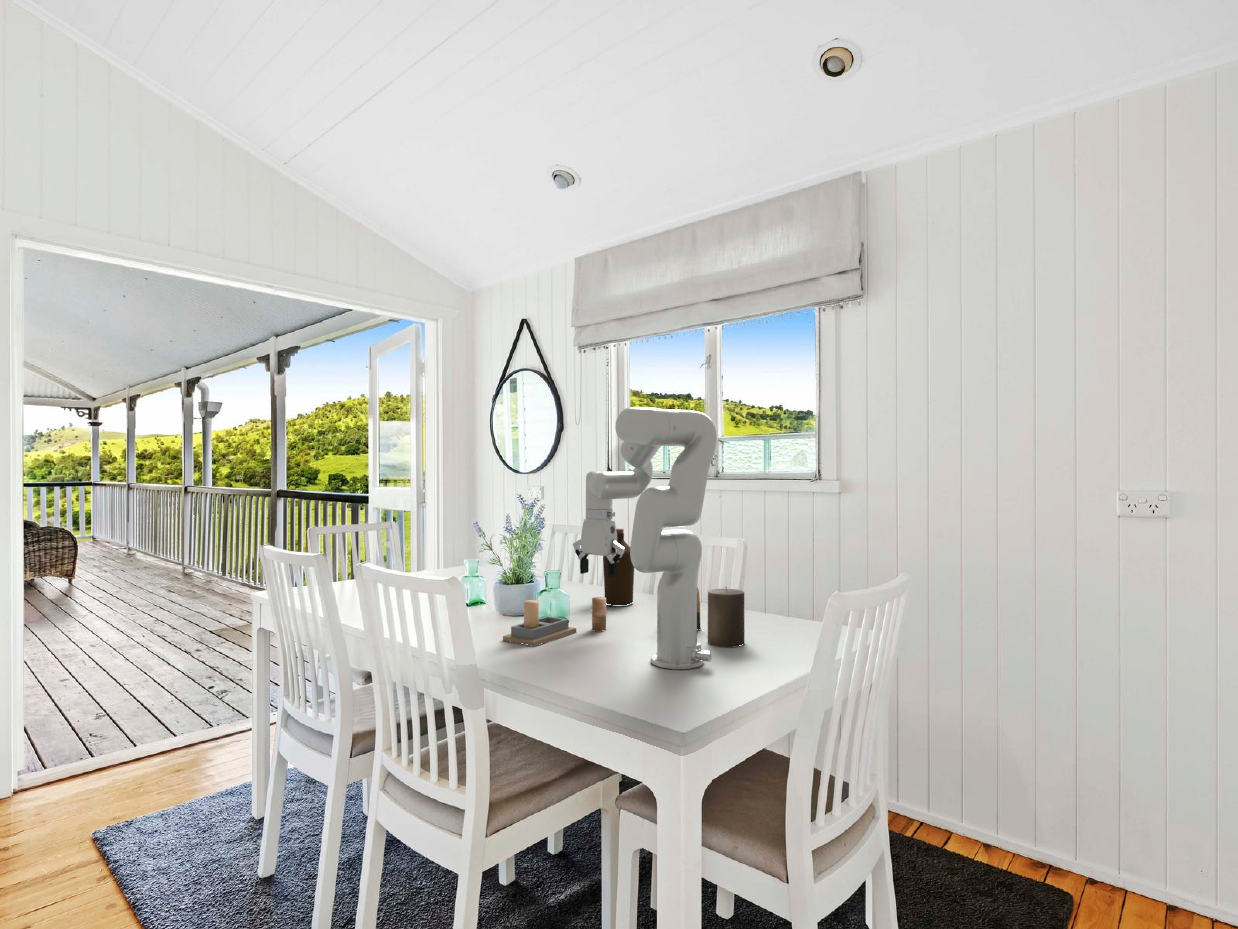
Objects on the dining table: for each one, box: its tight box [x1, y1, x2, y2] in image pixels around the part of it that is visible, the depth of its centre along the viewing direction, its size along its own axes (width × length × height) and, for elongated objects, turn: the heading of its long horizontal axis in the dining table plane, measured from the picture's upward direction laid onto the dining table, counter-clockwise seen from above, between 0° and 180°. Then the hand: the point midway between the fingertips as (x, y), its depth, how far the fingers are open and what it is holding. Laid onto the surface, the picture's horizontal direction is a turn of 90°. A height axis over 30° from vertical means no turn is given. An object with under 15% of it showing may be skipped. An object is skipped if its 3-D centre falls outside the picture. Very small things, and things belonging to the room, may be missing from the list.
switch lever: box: [591, 596, 607, 632], centre depth 202 cm, size 4×4×9 cm
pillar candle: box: [707, 586, 746, 648], centre depth 188 cm, size 10×10×15 cm
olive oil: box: [602, 528, 635, 605], centre depth 238 cm, size 11×11×25 cm
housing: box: [502, 599, 577, 647], centre depth 195 cm, size 11×18×10 cm, turn 146°
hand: (598, 575), depth 203 cm, fingers open, 9 cm apart
